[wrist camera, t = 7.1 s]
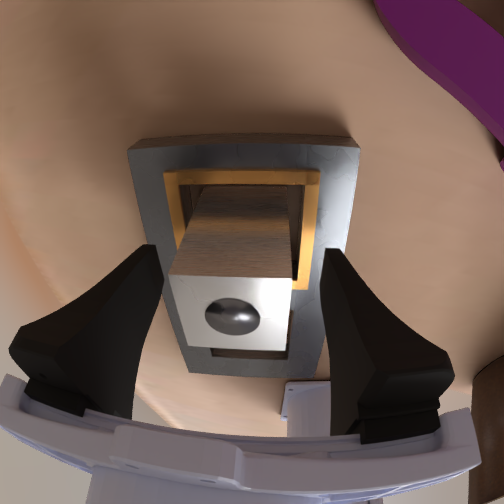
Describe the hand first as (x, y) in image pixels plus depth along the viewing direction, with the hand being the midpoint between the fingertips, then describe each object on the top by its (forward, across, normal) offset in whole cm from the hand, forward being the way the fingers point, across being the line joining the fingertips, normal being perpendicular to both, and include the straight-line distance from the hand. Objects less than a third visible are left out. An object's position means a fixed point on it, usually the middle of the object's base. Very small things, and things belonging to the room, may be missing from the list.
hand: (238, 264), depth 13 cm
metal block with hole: (+4, 0, 0) cm, 4 cm away
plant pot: (+4, -30, +19) cm, 36 cm away
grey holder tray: (+4, 0, +4) cm, 6 cm away
